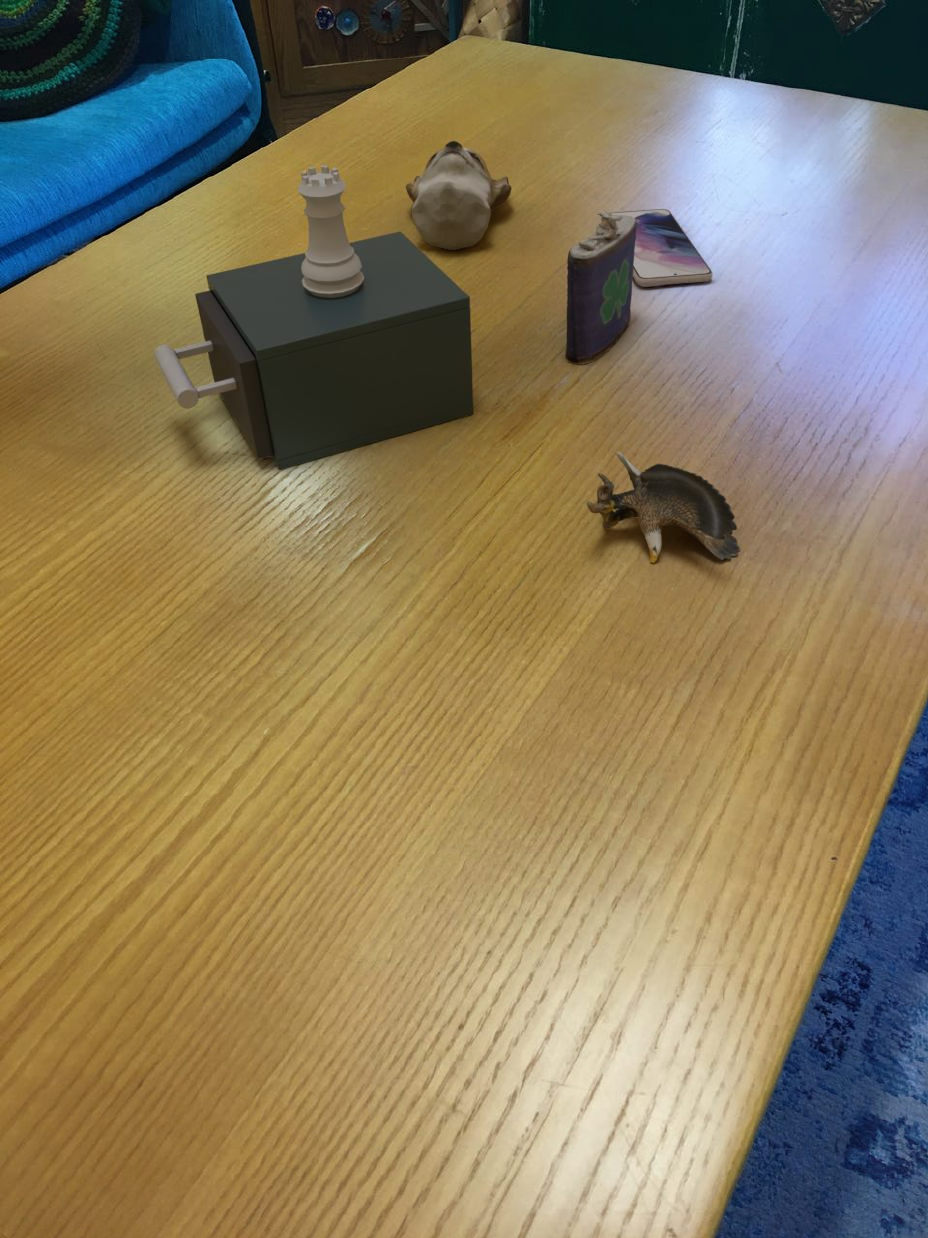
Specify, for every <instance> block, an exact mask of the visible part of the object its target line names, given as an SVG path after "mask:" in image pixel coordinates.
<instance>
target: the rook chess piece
mask: <svg viewBox="0 0 928 1238" xmlns="http://www.w3.org/2000/svg"><path fill="white" fill-rule="evenodd" d="M329 166H330V165H321V166H320V170H321V172H317V169H316V166H311V167H308V168H307V170H302V172H301V173H300V176H301V181H300V183H299V185H298V187H297V192H298V193H299V195H300V196H301V197H302V198H303V199H304V200H305V201H306V202H305V208H303V213H304V214H305V216H306V217H307V222H308V244H307V250H306V251H305V252H304V253H305V255H306V258H305V259H304V261H303V263H302V266H301V270H302V274H303V275H304V278H303V279H302V283H303V286H304V287H305V288H306V289H307V290H308V291H309V292H310V293H311V294H313V295H315V296H318V297H323V298H336V297H343V296H346V295H349V294H352V293H353V292H355V291H356V290H358V288H359V286H360V285H361V283H362V281H363V279H364V276H363V273H362V272H360V269H361V267H362V265H361V262H360V259H359V257H358V256H357V255H356V254H355V253H354V249H353V247H351V246H350V244H349V243H350V242H349V239H348V234H347V231H346V227H345V221H344V214H343V213H344V211H345V210H346V206H345V205H344V204H343V203H342V199H341V196H342V195H343V194H344V191H345V189H346V188H347V185H346V183H345V182H344V180H343V179H342V178H341V177H340V172H339V169H338V168H336V167H331V168H330V167H329Z"/></svg>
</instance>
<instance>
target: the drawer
mask: <svg viewBox="0 0 928 1238" xmlns="http://www.w3.org/2000/svg"><path fill="white" fill-rule="evenodd" d="M194 296H195V297H194V298H195V301H196V305H197V309H198V310H197V311H198V314H199V315H198V316H199V319H200V323H201V324H200V325H201V328H202V333H203V337H204V341H203V342H198V343H194V344H190V345H186V346H183V347H178V348H174V349H173V348H172V347H171V346H170V345H168V344H161V345H159V346H157V347H156V348H155V349H154V351H153V358H154V361H155V362H156V364H157V366H158V368H159V370H160V372H161V374H162V376H163V377H164V380H165V381H166V384H167V385H168V387H169V389H170V391H171V393H172V395H173V397H174V399H175V400H176V403H177V405H179V406H180V407H181V408H183V409H192V408H194V407H196V406H197V404H198V403H199V399H203V398H207V397H210V396H211V397H212V396H214V395H217V394H219V396H220V397H221V399H222V400H223V402H224V404H225V405H226V407H227V409H228V411H229V412H230V414H231V416H232V417H233V419H234V421H235V423H236V424H237V426H238V428H239V429H240V431H241V432H242V435H243V436H244V438H245V440H246V442H247V443H248V445H249V446H250V448H251V450H252V451H253V453H254V455H255V457H256V458H257V460H262V459H267V458H269V457H270V458H271V456H273V455H274V453H273V448H272V442H271V437H270V432H269V426H268V421H267V416H266V410H265V405H264V399H263V394H262V389H261V383H260V378H259V373H258V367H257V362H256V356H255V354H254V353H253V351H252V350H251V348H250V347H249V345H248V344H247V342H246V341H245V339H244V338H243V336H242V335H241V333H240V332H239V330H238V331H237V330H236V328H235V327H234V325H233V324H232V322H231V321H230V319H229V318H228V316H227V315H226V313H225V312H224V310H223V309H222V307H221V306H220V304H219V303H218V301H217V300H216V298H215V297H214V295H213V294H212V292H211V291H209V290H205V291H201V292H197V293H195V294H194ZM238 332H239V333H238ZM206 353H207V357H208V361H209V366H210V369H211V373H212V378H213V382H211V383H207V384H204V385H200V386H194V384H193V383H192V381H191V379H190V377H189V375H188V374H187V372H186V370H185V368H184V366H183V365H182V363H181V360H182V359H186V358H191V357H194V356H198V355H202V354H206Z"/></svg>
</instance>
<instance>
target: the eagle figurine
mask: <svg viewBox="0 0 928 1238" xmlns="http://www.w3.org/2000/svg"><path fill="white" fill-rule="evenodd" d="M615 454H616V456H617V458H618V459H619V461H620V463H622V465H623V466H624V467H625V469H626V470H627V474H628V476H629V479H630V481H631V484H632V487H633V489H630V490H628V491H624V492H621V493H614V488H615V484H614V482H613V481H611V480H610V479H609V478H608V477H607V476H606V475H605V474H603V473H600V472H599V473H597V476H598V477H599V478H600V480H601V481H602V482H603V484H601V485H599V486H598V487H597V490H596V496H597V500H596V501H597V502H596V503H593V502H591V501H587V502H586V506H587V508H588V510H589V512H590V513H591V514H600V515H601V517H602V519H603V521H602V528H603V529H604V530H606V529H608V530H611V528H613V527H614V526H616V525H618V524H619V522H622V521H624V520H626V519H627V520H628V519H634V518H637V520H638V523H639V527H640V530H641V533H642V534H643V536H644V539H645V540H646V543H647V547H648V550H649V555H650V559H649V563H650V564H655V563H656V562H657V560H658V558H659V555H660V553H661V550H662V543H663V541H662V540H663V539H662V527H664V526H674V527H678V528H680V529H682V530H683V531H684V532H687V533H688V534H689V535H691V536H692V537H694V538H695V539H697V540H698V541H699V542H700V543H701V544H702V545H703V546H704V547H705V548H706V549H707V550H708V551H709V552H710V553H711V554H712V555H713V556H714V557H716V558H717V559H718V560H720V561H723V560H725V559H726V560H731V559H732V557H737V556H739V553H738V552H740V550H741V549H740V546H739V545H738V539H737V538H736V537H735V536H734V535H733V533H734V532H733V531H737V530H738V526H737V524H736V522H735V521H734V520H735V518H736V515H735V513H734V512H733V511H732V507H731V505H730V504H729V503H728V502H727V498H726V497H725V495H723V494H721V493H720V490H719V489H717V488H716V487H715V486H714V484H712V483H710V481H709V480H708V479H704V477H703V476H702V475H698V474H697V473H695V472H690V471H688V470H685V469H683V468H680V467H675V466H672V465H668V464H664V463H663V464H662V463H655V464H654V465H651V466H649V467H648V468H646V469H644V471H640V470H638V469H637V468H636V467H635V466H634V465H633V464H632V463H631V462H630V461H629V460H628V459H627V458H626V457H625V456H624V455H623V454H622V453H621V452H619V451H616V453H615ZM614 510H615V511H614Z"/></svg>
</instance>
